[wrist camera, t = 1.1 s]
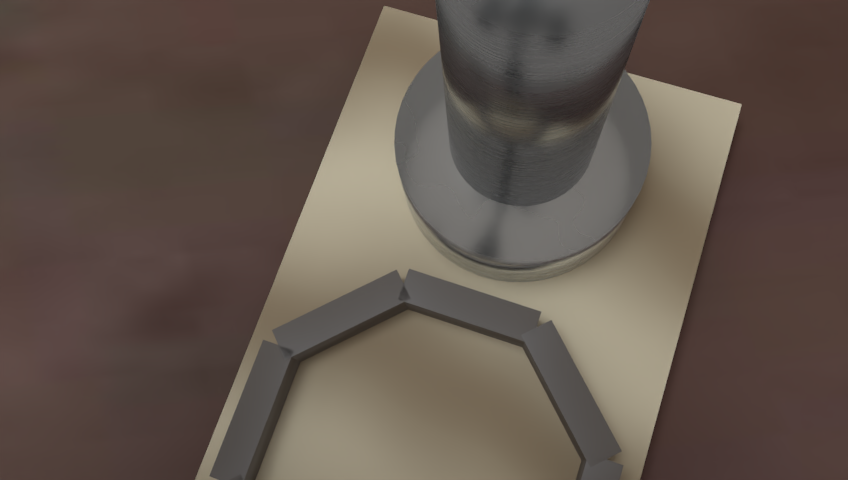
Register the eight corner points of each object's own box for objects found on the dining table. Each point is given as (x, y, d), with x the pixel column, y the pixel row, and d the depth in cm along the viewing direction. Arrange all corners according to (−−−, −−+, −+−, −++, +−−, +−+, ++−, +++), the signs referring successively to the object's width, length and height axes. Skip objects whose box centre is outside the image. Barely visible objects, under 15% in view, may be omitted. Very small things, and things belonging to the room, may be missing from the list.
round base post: (682, 199, 21) (857, -31, 11) (486, 327, 20) (491, 203, 11) (545, 26, 22) (595, -308, 13) (359, 141, 22) (264, -116, 12)
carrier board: (507, 934, 18) (513, 1026, 15) (100, 752, 19) (32, 803, 16) (730, 120, 22) (767, 68, 19) (387, 24, 24) (375, -37, 21)
